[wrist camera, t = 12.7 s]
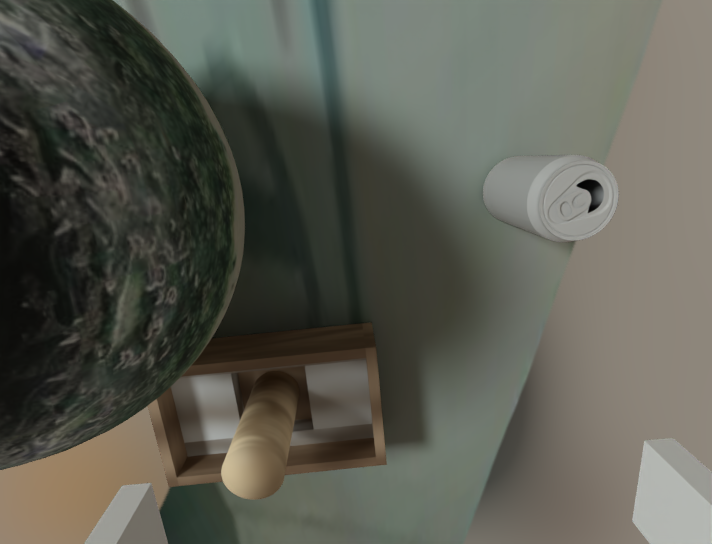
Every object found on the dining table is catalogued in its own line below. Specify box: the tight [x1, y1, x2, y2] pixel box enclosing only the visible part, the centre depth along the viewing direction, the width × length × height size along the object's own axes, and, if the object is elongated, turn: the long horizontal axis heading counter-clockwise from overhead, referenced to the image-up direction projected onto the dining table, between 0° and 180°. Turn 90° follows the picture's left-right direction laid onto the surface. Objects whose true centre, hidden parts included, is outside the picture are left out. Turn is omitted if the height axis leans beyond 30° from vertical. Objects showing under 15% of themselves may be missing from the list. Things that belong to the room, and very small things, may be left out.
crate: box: [148, 322, 387, 487], centre depth 42 cm, size 13×22×6 cm, turn 95°
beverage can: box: [483, 155, 619, 242], centre depth 35 cm, size 6×6×12 cm
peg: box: [221, 371, 300, 499], centre depth 38 cm, size 5×5×12 cm
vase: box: [0, 0, 245, 470], centre depth 25 cm, size 28×28×30 cm
